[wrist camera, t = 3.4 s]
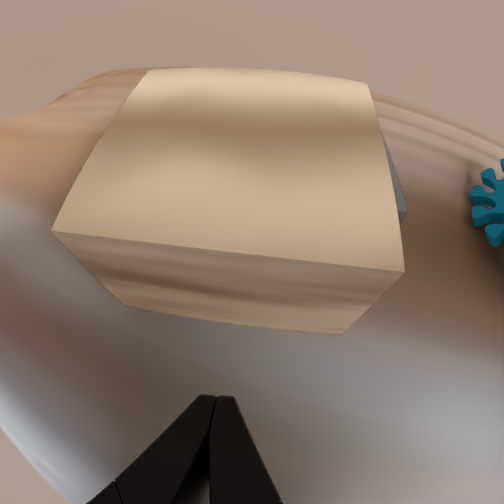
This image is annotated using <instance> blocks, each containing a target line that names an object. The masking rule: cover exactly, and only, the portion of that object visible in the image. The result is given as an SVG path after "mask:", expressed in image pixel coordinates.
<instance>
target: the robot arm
mask: <svg viewBox="0 0 504 504" xmlns="http://www.w3.org/2000/svg"><path fill="white" fill-rule="evenodd" d="M208 498H210V504H284V503H283V502H281V498H280V496H279V494H278V492H277V490H276V488H275V486H274V484H273V482H272V480H271V478H270V475H269V473H268V471H267V469H266V467H265V465H264V463H263V461H262V459H261V456H260V454H259V452H258V450H257V448H256V445H255V443H254V441H253V439H252V437H251V434H250V432H249V430H248V428H247V425H246V423H245V421H244V418H243V416H242V414H241V411H240V409H239V407H238V404H237V402H236V399H235V398H234V397H233V396H218V397H216V396H215V395H205V394H201V395H199V396H198V397H197V398H196V399H195V400H194V401H193V402H192V403H191V404H190V405H189V407H188V408H187V409H186V410H185V411H184V412H183V413H182V414H181V415H180V416H179V417H178V418H177V419H176V420H175V421H174V422H173V423H172V424H171V425H170V426H169V427H168V428H167V429H166V430H165V431H164V432H163V433H162V434H161V435H160V436H159V437H158V438H157V439H156V440H155V441H154V442H153V443H152V444H151V445H150V446H149V447H148V448H147V449H146V450H145V451H144V452H143V453H142V454H141V455H140V456H139V457H138V458H137V459H136V460H135V461H134V462H133V463H132V464H131V465H129V466H128V467H127V468H126V469H125V470H124V471H123V472H122V473H121V474H120V475H119V476H118V477H117V478H116V479H115V482H114V481H112V482H111V483H110V484H109V485H108V486H107V487H106V488H105V489H103V490H102V491H101V492H100V493H99V494H98V495H96V496H95V497H94V498H93V499H92V500H90V501H89V502H88V503H87V504H207V502H208Z"/></svg>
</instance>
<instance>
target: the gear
mask: <svg viewBox="0 0 504 504" xmlns="http://www.w3.org/2000/svg"><path fill="white" fill-rule="evenodd" d="M500 162H501V167H502V171H503V172H504V159H501V160H500ZM480 174H481V178H482V182H483V184H484V185H486V186H489V187H491V188H492V189H494V190H495V192H493V193H486V192H485V191H484V189H483V187H482V186H480V185H475V186H474V187H473V188H472V190H471V192H470V193H469V195H470V198H471V201H472V203H473V204H475V205H476V206H473V207H472V211H471V213H472V219H473V223H474V226H476V227H479V226H482V225H484V224H486V223H489V222H504V178H503V179H502V180H496V176H495V172H494V170H493V169H492V168H489V169H487V170H485V171H483V172H482V173H480ZM479 204H485V205H489V206H491V207H493V209H486V208H484V207H483V206H480V205H479ZM485 232H486V237H487V240H488V242H489V243H490V244H491V245H492V247H496V246H498V245H500V244H501V242H502V240H503V239H504V223H503V224H489V225H487V226H486V227H485Z"/></svg>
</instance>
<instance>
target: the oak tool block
mask: <svg viewBox="0 0 504 504" xmlns="http://www.w3.org/2000/svg"><path fill="white" fill-rule="evenodd" d="M51 232H52V233H53V234H54V235H55V236H56V237H57V238H58V239H59V240H60V241H61V243H62V244H63V245H64V246H65V247H66V248H67V249H68V250H69V251H70V252H71V253H72V254H73V255H74V256H75V257H76V258H77V260H78V261H79V262H80V263H81V264H82V265H83V266H84V267H85V268H86V269H87V270H88V271H89V272H90V273H91V274H92V275H93V276H94V277H95V278H96V279H97V280H98V281H99V282H100V283H101V284H103V285H104V286H105V287H106V288H107V289H108V290H109V291H110V292H111V293H112V294H113V295H114V296H115V297H116V298H117V299H118V300H120V301H121V302H122V303H123V304H124V305H125V306H130V307H135V308H140V309H145V310H151V311H156V312H161V313H167V314H173V315H179V316H185V317H191V318H197V319H203V320H210V321H216V322H223V323H230V324H238V325H245V326H253V327H261V328H269V329H278V330H287V331H297V332H307V333H318V334H330V335H341V334H342V333H343V332H344V331H345V330H346V329H347V328H348V327H349V326H351V325H352V324H353V323H354V322H355V321H356V320H357V319H358V318H359V317H360V316H361V315H362V314H363V313H364V312H366V311H367V310H368V309H369V308H370V307H371V306H372V305H373V304H374V303H375V302H376V301H377V300H378V299H379V298H380V297H381V296H382V295H383V294H384V293H385V292H386V291H387V290H388V289H389V288H390V287H391V286H392V285H393V284H394V283H395V282H396V281H397V280H398V279H399V278H400V277H401V276H402V274H403V273H404V272H405V267H404V258H403V249H402V240H401V233H400V226H399V219H398V212H397V206H396V200H395V195H394V189H393V184H392V179H391V174H390V169H389V164H388V160H387V155H386V151H385V147H384V142H383V138H382V134H381V130H380V127H379V123H378V119H377V115H376V112H375V108H374V105H373V102H372V98H371V95H370V92H369V89H368V85H367V84H366V83H361V82H356V81H351V80H345V79H340V78H334V77H327V76H320V75H314V74H307V73H298V72H289V71H279V70H265V69H250V68H175V69H159V70H149V71H148V72H147V74H146V75H145V76H144V77H143V79H142V80H141V81H140V83H139V84H138V85H137V86H136V88H135V89H134V90H133V92H132V93H131V94H130V96H129V97H128V98H127V100H126V101H125V103H124V104H123V105H122V107H121V108H120V110H119V111H118V112H117V114H116V115H115V117H114V118H113V120H112V121H111V123H110V124H109V126H108V127H107V129H106V130H105V132H104V133H103V135H102V136H101V138H100V140H99V141H98V143H97V144H96V146H95V148H94V149H93V151H92V153H91V154H90V156H89V158H88V159H87V161H86V163H85V164H84V166H83V168H82V170H81V171H80V173H79V175H78V177H77V179H76V180H75V182H74V184H73V186H72V188H71V190H70V192H69V194H68V195H67V197H66V199H65V201H64V203H63V205H62V207H61V209H60V212H59V214H58V216H57V218H56V220H55V222H54V224H53V226H52V229H51Z"/></svg>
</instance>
